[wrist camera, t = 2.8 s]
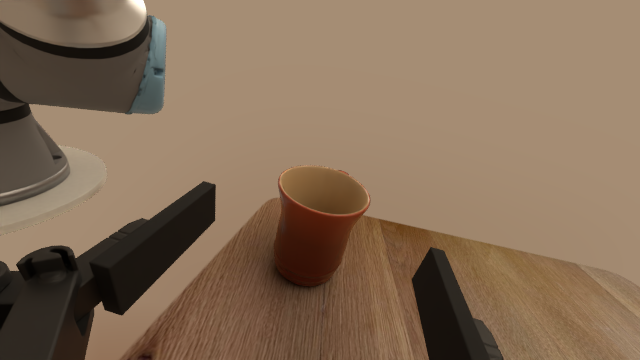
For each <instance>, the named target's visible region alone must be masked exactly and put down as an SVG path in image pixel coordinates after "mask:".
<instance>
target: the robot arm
mask: <svg viewBox="0 0 640 360" xmlns="http://www.w3.org/2000/svg"><path fill="white" fill-rule="evenodd" d="M165 54H166V25H165V24H164V22H162V21H161V20H159V19H156V18H155V17H154V16H150V15H149V16H147V12H146V7H145V4H144V2H143V0H0V206H4V205H8V204H12V203H16V202H19V201H22V200H25V199H28V198H31V197H34V196H37V195H39V194H41V193H44V192H46V191H48V190H50V189H52V188H54V187H56V186H57V185H59V184H60V183H62V182H63V181H64V180H65V179H66V178H67V177H68V175H69V174H70V166H69V163H68V160H67V157H66V156H65V154H64V153H63V151H62V150H61V149H60V148H59V147H58V146H57V144H56V143H55V142H54V141H53V140H52V139H51V138H50V136H49V135H48V134H47V133H46V132H45V130H44V129H43V128H42V127H41V126H40V125H39V124H38V122H37V121H36V120H35V119H34V117H33V115H32V112H31V110H30V107H29V104H39V105H49V106H59V107H69V108H78V109H79V108H80V109H88V110H98V111H108V112H117V113H125V114H132V113H142V114H155V113H158V112H159V111H160V110H161V109H162V108H163V104H164V84H165V58H166V57H165V56H166V55H165ZM215 188H216V185H215V184H211V183H207V182H204V181H203V182H202V183H201V184H199V185H198V186H196V187H195V188H194V189H192V190H191V191H189V192H188V193H186V194H185V195H184V196H182V197H181V198H179V199H178V200H176V201H175V202H174V203H172V204H171V205H169V206H168V207H167V208H165V209H164V210H162V211H161V212H159V213H158V214H157V215H155V216H154V217H153V218H151V219H150V220H146V219H143V218H142V219H139V220H136V221H134V222H131V223H129V224H127V225H126V226H124V227H123V228H121V229H120V230H118V232H115V233H114V234H112V235H111V236H109V238H106V239H104V240H103V241H101V242H100V243H98V244H97V245H95V246H94V247H92V248H91V249H89V250H88V251H87V252H85V253H83V254H82V255H80V256H79V257H77V258H75V256H74V253H73V251H72V249H70V248H69V247H66V246H50V247H46V248H41V249H39V250H36V251H34V252H32V253H30V254H28V255H26V256H25V257H23V258H22V259H21V260H20V261H19V262H18V263H17V264H16V266H17V267H18V269H19V271H10V270H9V268H8V266H7V265H6V264H5V263H4V262H2V261H0V360H84V359H85V355H86V350H87V345H88V341H89V336H90V331H91V327H92V322H93V317H94V307H95V306H96V305H98V304H99V303H100V302H101V301H102V303H103V306H104V309H105V310H107V311H110V312H113V313H116V314H119V315H123V314H124V313H125V312H126V311H127V310H128V309H129V308H130V307H131V306H132V305H133V304H134V303H135V302H136V301H137V300H138V299H139V298H140V297H141V296H142V295H143V294H144V292H146V291H147V289H148V288H149V287H150V286H151V285H152V284H153V283H154V282H155V281H156V280H157V279H158V278H159V277H160V276H161V275H162V274H163V273H164V272H165V271H166V270H167V269H168V268H169V267H170V266H171V265H172V264H173V263H174V262H175V261H176V260H177V259H178V258H179V257H180V256H181V255H182V254H183V253H184V251H186V250H187V249H188V248H189V247H190V246H191V245H192V244H193V243H194V242H195V241H196V239H197V238H198V237H199V236H200V235H201V234H202V233H203V232H204V231H205V230H206V229H207V228H208V227H209V226H210V225H211V224H212V223H213V222H214V221H215ZM412 283H413V287H414V292H415V297H416V301H417V306H418V310H419V315H420V320H421V324H422V329H423V333H424V338H425V343H426V347H427V352H428V356H429V360H503V356H502V354H501V352H500V350H499V349H498V346H497V344H496V341H495V339H494V337H493V335H492V333H491V332H490V331H489V329H488V328H487V327H486V326H485V324H484V323H483V322H482V321H481V320H478V319H474V318H473V317H472V315H471V313H470V310H469V308H468V306H467V303H466V301H465V299H464V296H463V294H462V292H461V289H460V287H459V285H458V282H457V280H456V278H455V275H454V273H453V271H452V268H451V266H450V264H449V261H448V259H447V257H446V254H445V252H444V251H443V250H439V249H436V248H432V247H431V248H430V249H429V251H428V253H427V254H426V256H425V258H424V259H423V261H422V263H421V265H420V266H419V268H418V270H417V271H416V273H415V275H414V276H413V278H412Z"/></svg>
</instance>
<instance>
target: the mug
mask: <svg viewBox="0 0 640 360" xmlns="http://www.w3.org/2000/svg"><path fill="white" fill-rule="evenodd" d="M278 187H279V192H280V198H281V216H280V220H279V224H278V228H277V234H276V239H275V242H274V257H275V264H276V267H277V269H278V270H279V272H280V273H281V274H282V275H283V276H284V277H285V278H286V279H287V280H289V281H291V282H293V283H295V284H298V285H302V286H317V285H320V284H323V283H325V282H326V281H328V280H329V279H330V278H331V277H332V275H333V274H334V272H335V271H336V269H337V268H338V266H339V265H340V263H341V260H342V256H343V253H344V251H345V248H346V245H347V242H348V238H349V235H350V232H351V230H352V228H353V226H354V225H355V223H356V222H357V221H358V219H359V218H360V217H361V216H362V215H363V213H364V212H365V211H366V210H367V209H368V207H369V205H370V196H369V193H368V192H367V190H366V189H365V187H364V186H363V185H362V184H360V183H359V182H358V181H357V180H356V179H354V178H352V177H351V176H349V174H348V173H346V172H344V171H341V170H334V169H331V168H327V167H322V166H313V165H312V166H311V165H303V166H296V167H292V168H289V169H287V170H285V171H284V172H283V173H282V174H281V175H280V177H279V179H278Z"/></svg>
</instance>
